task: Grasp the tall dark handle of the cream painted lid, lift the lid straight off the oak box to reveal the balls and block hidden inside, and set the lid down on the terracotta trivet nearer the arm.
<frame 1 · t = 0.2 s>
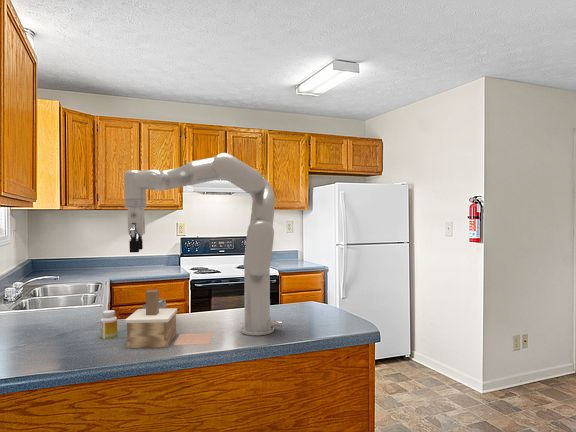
hand: (136, 250, 159), 31 cm above the worktop, fingers open, 9 cm apart
lid: (152, 316, 150), point 9 cm above the worktop, touching oak box
walnut block: (147, 338, 153), point 1 cm above the worktop, touching oak box
grey ball: (156, 343, 147), point 1 cm above the worktop, touching oak box
teal ball: (163, 338, 153), point 1 cm above the worktop, touching oak box
food container: (157, 327, 169), on the worktop
trivet: (194, 340, 152), on the worktop
supplement bottle: (109, 338, 155), on the worktop
oak box: (152, 342, 150), on the worktop
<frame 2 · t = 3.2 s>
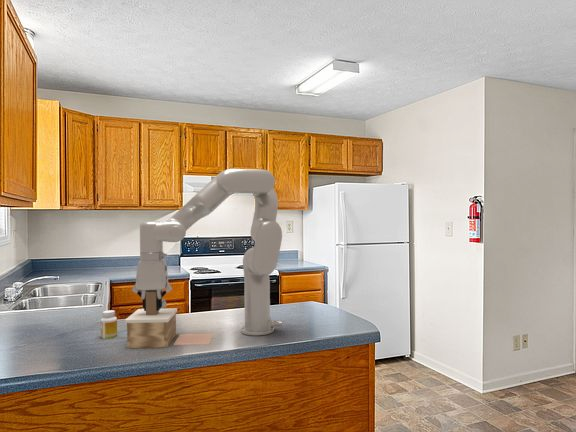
hand: (152, 309, 150), 12 cm above the worktop, fingers closed on lid, 3 cm apart
lid: (152, 316, 150), point 9 cm above the worktop, touching gripper, oak box
everything else where it was.
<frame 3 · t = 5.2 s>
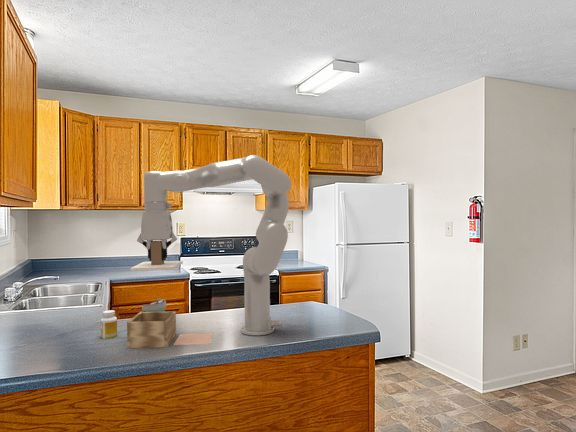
hand: (157, 259, 150), 29 cm above the worktop, fingers closed on lid, 3 cm apart
lid: (157, 267, 150), point 26 cm above the worktop, touching gripper
everything else where it was.
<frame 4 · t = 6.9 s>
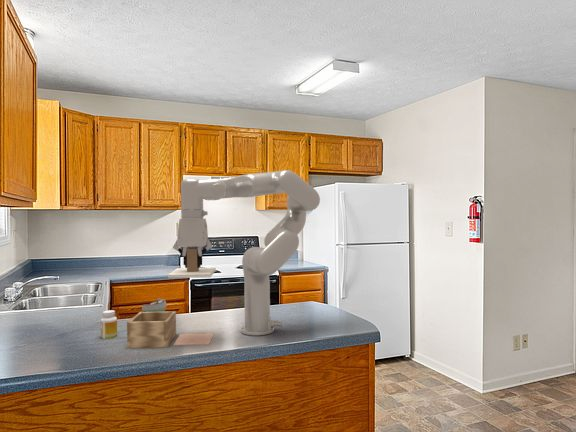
hand: (192, 266, 151), 26 cm above the worktop, fingers closed on lid, 3 cm apart
lid: (193, 273, 151), point 24 cm above the worktop, touching gripper
everything else where it was.
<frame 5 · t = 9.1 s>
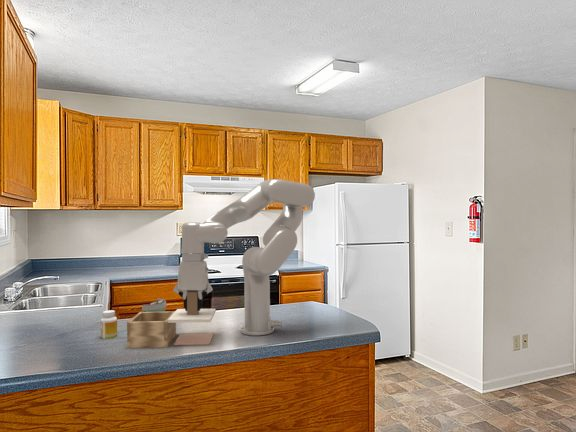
hand: (193, 309, 151), 11 cm above the worktop, fingers closed on lid, 3 cm apart
lid: (193, 316, 151), point 9 cm above the worktop, touching gripper
everything else where it was.
when the fingers open (5 cm above the worktop, at t = 10.9 s): lid drops 2 cm, resting on trivet.
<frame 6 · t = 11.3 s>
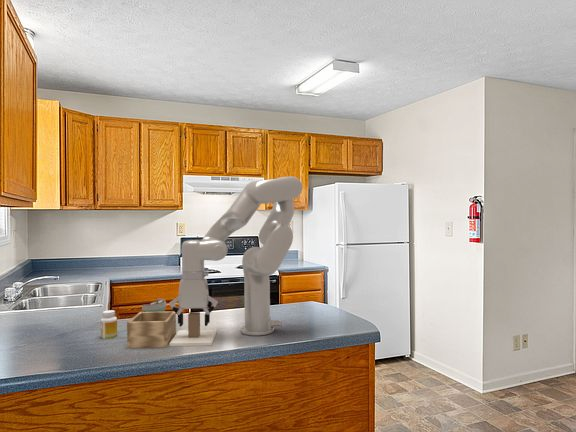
hand: (193, 325, 152), 6 cm above the worktop, fingers open, 8 cm apart
lid: (194, 338, 152), point 1 cm above the worktop, touching trivet
everything else where it was.
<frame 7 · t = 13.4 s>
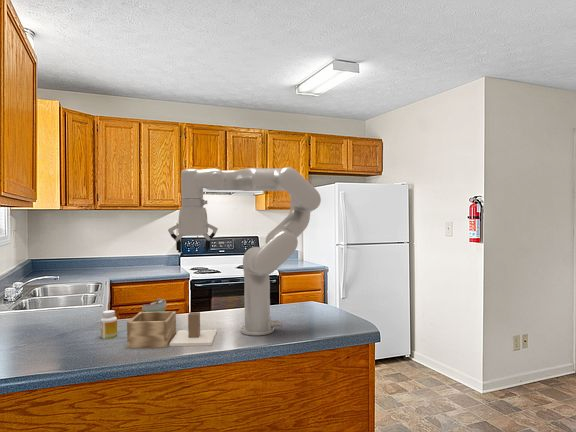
hand: (193, 251, 154), 31 cm above the worktop, fingers open, 9 cm apart
nothing on the worktop moved.
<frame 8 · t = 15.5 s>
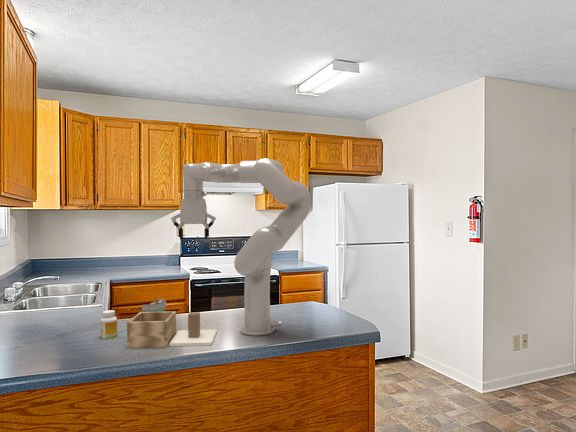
hand: (193, 238, 171), 34 cm above the worktop, fingers open, 9 cm apart
nothing on the worktop moved.
at the end: lid inside the target area on the trivet (0.1 cm from its centre), point 0.6 cm above the trivet's base; lid tilted 0°; the gripper is holding nothing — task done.
